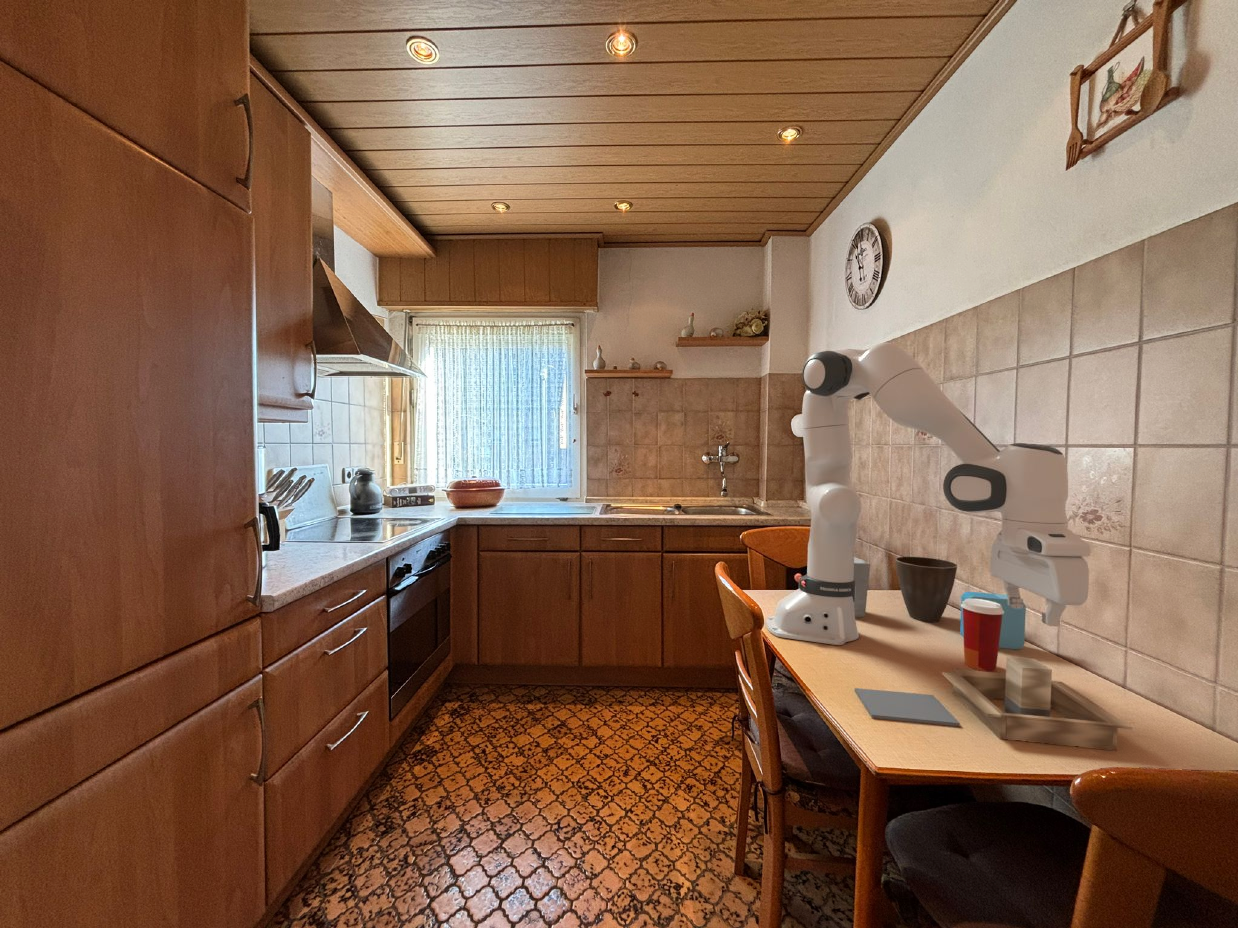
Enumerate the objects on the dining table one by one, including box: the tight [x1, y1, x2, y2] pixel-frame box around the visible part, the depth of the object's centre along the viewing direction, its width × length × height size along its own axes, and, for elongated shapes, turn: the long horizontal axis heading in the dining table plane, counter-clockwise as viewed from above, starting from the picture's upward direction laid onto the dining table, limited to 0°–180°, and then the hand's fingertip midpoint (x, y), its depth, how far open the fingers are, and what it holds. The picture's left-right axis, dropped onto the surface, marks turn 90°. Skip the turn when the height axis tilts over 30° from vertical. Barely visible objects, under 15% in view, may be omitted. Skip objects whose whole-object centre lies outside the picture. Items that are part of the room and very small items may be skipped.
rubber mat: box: [854, 687, 961, 727], centre depth 91 cm, size 14×10×1 cm
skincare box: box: [854, 556, 871, 618], centre depth 146 cm, size 8×7×16 cm
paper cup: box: [960, 599, 1004, 672], centre depth 110 cm, size 8×8×14 cm
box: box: [1003, 656, 1053, 717], centre depth 88 cm, size 4×4×10 cm
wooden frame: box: [941, 668, 1133, 752], centre depth 89 cm, size 21×18×4 cm
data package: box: [959, 591, 1027, 651], centre depth 123 cm, size 12×4×12 cm, turn 72°
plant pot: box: [895, 556, 958, 623], centre depth 142 cm, size 15×15×16 cm
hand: (1032, 615), depth 88 cm, fingers open, 8 cm apart
